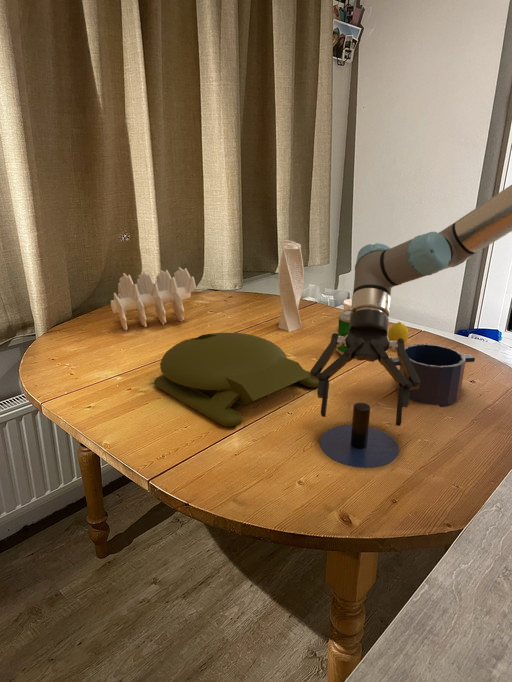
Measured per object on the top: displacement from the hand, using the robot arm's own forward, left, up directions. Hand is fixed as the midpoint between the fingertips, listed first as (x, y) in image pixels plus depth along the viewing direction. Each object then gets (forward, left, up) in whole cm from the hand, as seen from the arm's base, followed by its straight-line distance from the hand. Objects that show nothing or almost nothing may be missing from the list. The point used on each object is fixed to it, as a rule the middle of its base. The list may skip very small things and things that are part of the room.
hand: (360, 419), depth 92 cm
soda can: (+46, -12, -7) cm, 48 cm away
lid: (0, 0, -6) cm, 6 cm away
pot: (+21, -23, -6) cm, 32 cm away
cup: (+62, -19, -7) cm, 65 cm away
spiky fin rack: (+78, +44, -7) cm, 90 cm away
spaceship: (+32, +22, -7) cm, 39 cm away
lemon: (+48, -26, -7) cm, 55 cm away
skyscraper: (+69, +1, -7) cm, 69 cm away
